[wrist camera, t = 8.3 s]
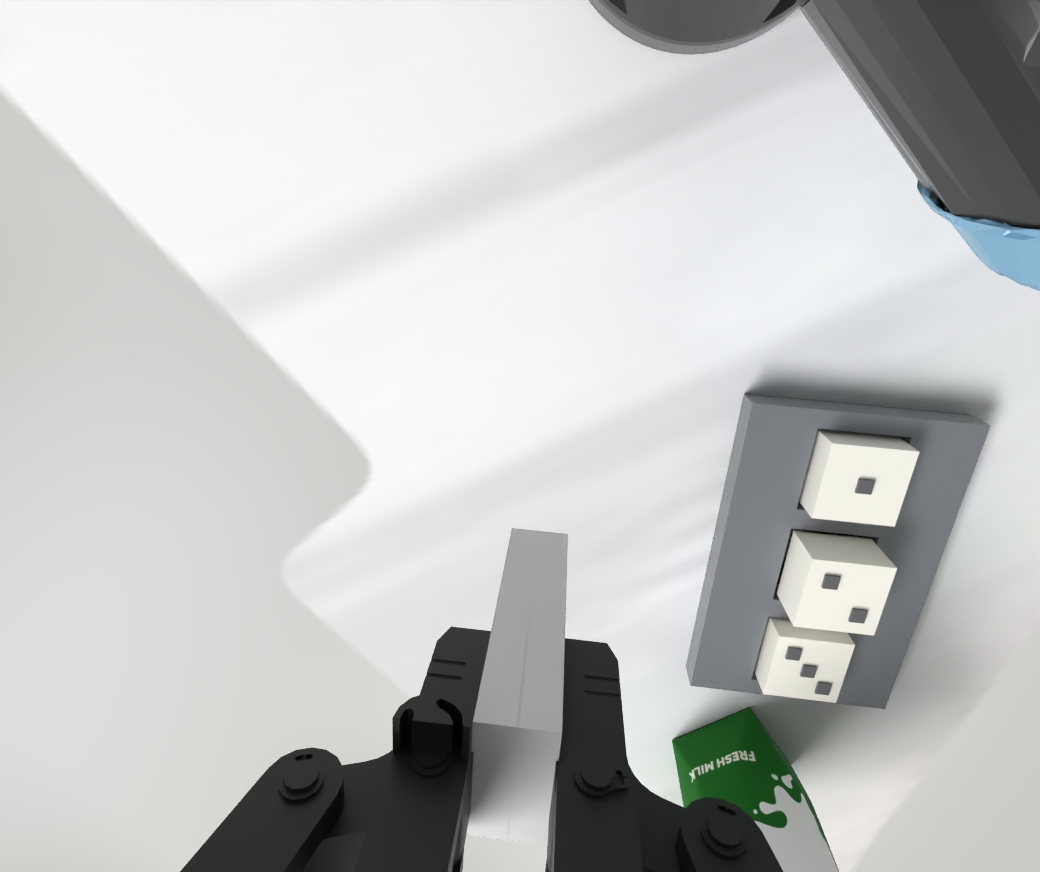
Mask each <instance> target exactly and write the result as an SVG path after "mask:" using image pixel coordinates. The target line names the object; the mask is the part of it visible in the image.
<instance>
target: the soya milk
mask: <svg viewBox="0 0 1040 872" xmlns="http://www.w3.org/2000/svg"><path fill="white" fill-rule="evenodd" d="M672 742H673V748H674V753H675V759H676V764H677V770H678V776H679V782H680V788H681V793H682V799H683V805H684V808H686V807H687V806H688V805H689V804H690V803H691V802H692V801H694V800H698V799H701V798H704V797H710V798H720V799H723V800H725V801H728V802H730V803H732V804H735V805H737V806H738V807H739V808H741V809H742V810H743V811H745V812H746V813H747V814H748V815H750V816H751V817H752V819H753V820H754V821H755V823H756V824H757V825H758V827H759V828H760V829H761V831H762V832H763V834H764V836H765V838H766V840H767V842H768V844H769V845H770V847H771V849H772V851H773V853H774V855H775V857H776V858H777V860H778V862H779V864H780V866H781V868H782V870H783V872H839V870H838V868H837V865H836V863H835V860H834V857H833V855H832V852H831V850H830V847H829V845H828V842H827V840H826V837H825V835H824V832H823V829H822V827H821V824H820V822H819V819H818V817H817V815H816V812H815V810H814V807H813V805H812V803H811V801H810V799H809V797H808V795H807V793H806V791H805V789H804V788H803V786H802V784H801V782H800V781H799V779H798V777H797V775H796V773H795V772H794V770H793V768H792V766H791V765H790V763H789V762H788V760H787V759H786V758H785V756H784V755H783V753H782V752H781V751H780V749H779V748H778V746H777V745H776V743H775V742H774V741H773V739H772V738H771V736H770V735H769V734H768V732H767V731H766V729H765V728H764V726H763V725H762V724H761V722H760V721H759V719H758V718H757V717H756V715H755V714H754V712H753V711H752V710H751V708H750V707H749V708H747V709H745V710H742V711H740V712H738V713H735V714H733V715H731V716H728V717H726V718H724V719H721V720H719V721H717V722H714V723H712V724H709V725H707V726H705V727H702V728H700V729H698V730H695V731H693V732H691V733H688V734H686V735H684V736H681V737H679V738H676V739H674V740H672Z"/></svg>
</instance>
